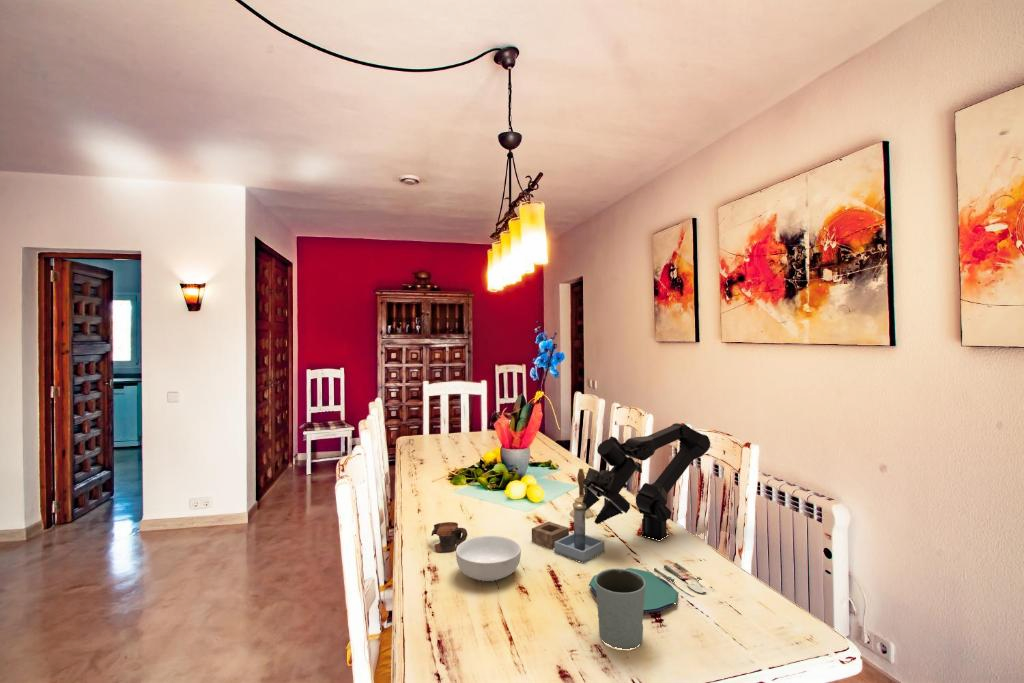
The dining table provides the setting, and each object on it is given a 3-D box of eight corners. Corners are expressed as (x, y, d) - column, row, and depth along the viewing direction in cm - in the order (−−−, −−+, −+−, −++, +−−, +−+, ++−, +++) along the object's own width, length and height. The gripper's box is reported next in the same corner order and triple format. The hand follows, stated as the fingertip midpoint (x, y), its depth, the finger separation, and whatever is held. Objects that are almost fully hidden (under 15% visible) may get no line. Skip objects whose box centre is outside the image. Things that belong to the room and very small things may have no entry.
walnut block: (569, 541, 148) (568, 527, 148) (551, 549, 143) (551, 535, 143) (549, 534, 154) (548, 521, 154) (531, 541, 148) (531, 528, 148)
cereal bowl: (462, 595, 117) (461, 566, 117) (451, 565, 134) (451, 539, 134) (529, 585, 122) (529, 556, 122) (511, 557, 138) (511, 532, 138)
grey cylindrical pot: (638, 623, 105) (637, 567, 105) (653, 653, 95) (652, 591, 95) (591, 625, 104) (590, 569, 104) (601, 655, 94) (600, 593, 94)
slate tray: (604, 551, 140) (604, 541, 140) (583, 563, 133) (583, 552, 133) (576, 541, 148) (576, 531, 148) (554, 552, 140) (554, 542, 140)
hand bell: (595, 518, 167) (594, 471, 167) (571, 518, 167) (570, 472, 167) (592, 510, 175) (591, 465, 175) (568, 510, 175) (568, 466, 175)
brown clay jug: (425, 554, 142) (425, 524, 146) (441, 556, 150) (441, 528, 154) (461, 548, 139) (460, 517, 143) (476, 551, 146) (475, 522, 150)
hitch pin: (588, 548, 141) (588, 503, 141) (583, 553, 138) (583, 507, 138) (576, 546, 143) (575, 501, 143) (571, 550, 140) (570, 505, 140)
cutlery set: (575, 584, 122) (575, 575, 122) (673, 564, 133) (673, 556, 133) (620, 628, 104) (620, 617, 104) (730, 601, 114) (730, 591, 114)
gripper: (586, 451, 152) (555, 491, 148) (619, 465, 134) (584, 511, 131) (609, 473, 155) (579, 513, 151) (644, 490, 137) (611, 535, 133)
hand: (587, 517), depth 141 cm, fingers open, 9 cm apart
